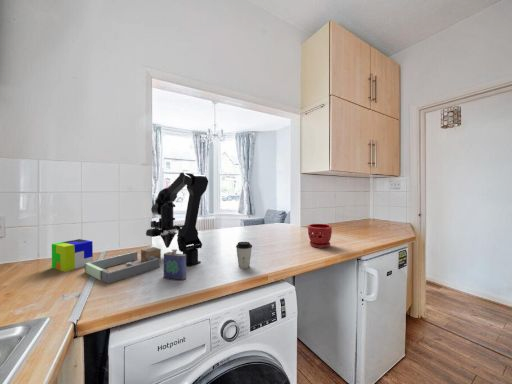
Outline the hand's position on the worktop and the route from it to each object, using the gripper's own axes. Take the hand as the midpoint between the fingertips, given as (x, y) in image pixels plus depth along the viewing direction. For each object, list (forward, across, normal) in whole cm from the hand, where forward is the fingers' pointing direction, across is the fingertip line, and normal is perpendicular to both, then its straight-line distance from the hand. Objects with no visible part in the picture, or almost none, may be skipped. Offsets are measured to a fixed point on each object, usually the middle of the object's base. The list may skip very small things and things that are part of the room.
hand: (167, 247), depth 109 cm
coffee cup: (+4, -8, +41) cm, 42 cm away
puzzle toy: (+4, +32, -20) cm, 38 cm away
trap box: (+4, +21, +2) cm, 22 cm away
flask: (+4, +16, +27) cm, 31 cm away
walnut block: (+4, +8, 0) cm, 9 cm away
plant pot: (+4, -60, +57) cm, 82 cm away
